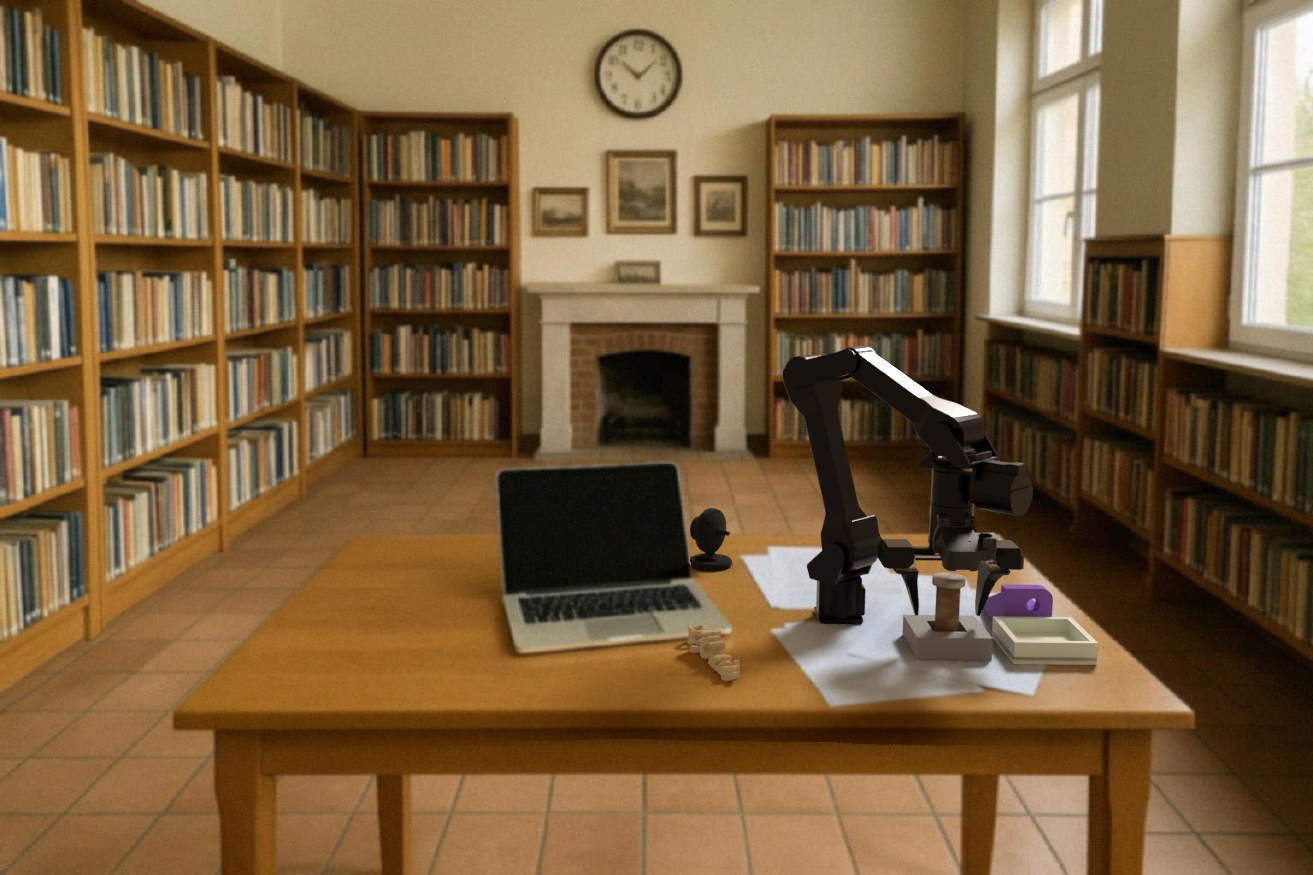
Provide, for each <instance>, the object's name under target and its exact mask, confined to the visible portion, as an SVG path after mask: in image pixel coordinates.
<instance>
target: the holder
mask: <svg viewBox="0 0 1313 875" xmlns="http://www.w3.org/2000/svg"><path fill="white" fill-rule="evenodd" d="M934 630H935V614H918V616H917V615H915V614H903V615H902V637H903V639H904V640H905V643H906V644H907V646H908V647H909V649H910V651H911V652H912V654H913V657H915V659H916V660H939V661H940V660H943V661H944V660H945V661H946V660H947V661H948V660H949V661H950V660H951V661H954V660H956V661H957V660H958V661H959V660H960V661H961V660H962V661H966V660H967V661H992V657H993V641H994V639H993V638H992V635H991V634H990V633H989V632H988V631H987V629H986V628H985V626H983V624H982V623H981V622H980V621H979V619H978V618H977V617H976V615H975V614H974V615H973V614H969V615H968V614H965V615H964V614H963V615H962V614H959V630H958V632H935V631H934Z"/></svg>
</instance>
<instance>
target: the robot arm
mask: <svg viewBox="0 0 1313 875" xmlns="http://www.w3.org/2000/svg"><path fill="white" fill-rule="evenodd" d="M851 378H852V380H853V379H854V380H855V381H856V382H858V383H859V384H860V385H861V386H863V387H864V388H866V389H867V390H868V391H869V392H871V393H872V394H874V395H875V396H876V397H878V398H879V399H880V400H882V402H884V403H885V404H887V405H888V406H890V407H891V408H892V409H894V410H895V411H896V412H898V413H899V414H901V415H902V417H904V418H905V419H907V420H908V421H909V422H910V423H911V424H912V426H913V428H914V430H915V433H916V435H917V437H918V438H919V439H920V440H921V441H922V442H923V443H924V444H925V445H926V446H927V447H928V448H929V449H930V451H929V452H928V454H927V455H926V456H925V457H923V458H922V459H921V460H919V461H918V462H917V467H918V468H922V469H928V470H931V485H930V486H931V489H930V505H929V509H928V510H929V511H928V512H929V513H928V514H929V528H928V529H929V530H928V531H929V534H928V535H927V537H928V538H927V543H928V546H922V545H921V546H918V545H917V546H914V545H912V544H911V542H910V541H909V540H908V539H907V538H882V536H881V534H880V531H879V522H878V517H877V516H876V514H874V515H869V516H868V515H867V514H866V513H865V512H864V511H863V509H862V508H861V507H860V505H859V502H858V501H859V500H858V496H857V492H856V487H855V483H854V479H853V478H854V477H853V473H852V470H851V465H850V460H849V458H848V452H847V448H846V443H845V439H844V434H843V431H842V425H841V421H840V416H839V411H838V410H839V404H840V400H841V398H842V397H841V396H842V394H843V384H842V382H843V381H845V380H848V379H851ZM782 380H783V384H784V386H785V390H786V392H787V395H788V398H789V401H790V402H791V403H792V405H793V406H794V407H795V408H796V409H797V411H798V412H799V413H800V415H802V418H803V419H804V423H805V426H806V432H807V436H808V440H809V445H810V450H811V454H812V458H813V463H814V468H815V471H816V476H817V482H818V485H819V489H820V494H821V499H822V503H823V507H824V508H823V509H824V519H823V521H822V527H821V530H820V542H821V550H820V552H819V553H817V554H816V555H815V556H814V557H813V558H812V559H811V560H810V561H809V562H808V563H807V564H806V569H807V573H808V574H807V575H808V577H809V580H810V579H811V580H813V581H816V600H815V601H816V602H815V606H814V607H813V611H814V613H815V615H816V619H817V622H818V623H823V624H824V623H825V624H827V623H834V624H835V623H840V624H841V623H843V624H844V623H845V624H846V623H847V624H849V623H850V624H854V623H855V624H858V623H859V624H861V623H864V618H863V616H864V615H866V591H867V590H866V588H865V586H864V584H863V579H862V576H865V575H869V574H870V572H871V570H872V566H873V564H874V563H875V562H877V560H879V562H880V564H881V565H882V567H883V568H885V569H893V571H894V572H895V574H897V575H901V578H902V580H903V583H904V585H905V589H906V591H907V594H908V598H909V601H910V604H911V609H912V611H913V615H917V616H918V615H919V611H920V610H919V609H920V602H919V601H920V599H919V582H918V581H919V580H918V578H919V574H920V573H919V570H918V568H917V567H916V565H915V564H916V561H931V562H933V561H935V562H936V561H941V565H942V567H943V569H944V570H946V571H949V572H956V571H969V572H977V578H976V579H977V580H976V587H975V588H976V589H975V597H974V598H975V599H974V600H975V601H974V604H975V605H974V609H975V616H977V617H981V615H982V613H983V611H984V610H983V608H984V606H985V604H986V601H987V599H988V597H990V595H991V592H992V591H993V589H994V586H995V585H996V583H997V581H999V580H1000V579H1001V578H1002V577H1004V576H1010V574H1011V571H1012V570H1013V571H1017V570H1019V571H1021V570H1024V565H1025V555H1024V554H1025V553H1024V551H1023V550H1022V549H1021V548H1020V547H1019V546H1018V545H1017V544H1016V543H1015V542H1014V541H1013V540H1011V539H998V538H997V535H996V533H995V532H978V531H977V528H976V516H975V514H974V513H975V512H974V511H975V507H976V508H977V509H979V510H984V511H988V512H994V513H998V514H999V513H1000V514H1004V515H1005V514H1006V515H1009V516H1015V517H1022V516H1023V515H1025V514H1026V513H1027V511H1028V509H1029V508H1030V505H1031V504H1032V499H1033V494H1034V486H1032V481H1031V477H1030V475H1029V474H1027V472H1026V470H1027V469H1026V468H1027V467H1026V466H1027V465H1026V463H1025V462H1017V461H1016V462H1007V461H1001V457H1000V456H999V453H998V452H997V450H996V449H995V447H994V445H993V443H992V441H991V440H990V438H989V436H988V434H987V433H986V429H985V425H984V423H985V422H984V419H983V418H982V417H981V415H980V414H979V413H977V412H976V411H974V410H971V409H970V408H967V407H966V406H963V405H961V404H960V403H956V402H953V401H951V400H947V399H944V398H940V397H938V396H936V395H934V394H932V392H931V393H930V392H929V391H928V390H926V389H925V388H924V387H923V386H921V385H920V384H918V383H917V382H915V381H914V380H912V379H911V378H910V377H908V376H907V375H906V374H904V373H903V372H902V371H900V370H899V369H898V368H896V367H894V366H893V365H892V364H891V363H889V362H888V361H886V360H885V359H884V358H882V357H881V356H879V355H878V354H877V353H876V351H875V350H874V349H873V348H871V347H869V346H867V345H861V346H860V345H858V346H849V347H845V348H843V349H841V350H838V351H836V352H832V353H825V352H824V353H816V354H815V353H814V354H808V355H807V354H806V355H798V356H797V355H796V356H795V355H794V356H793V357H792V358H790V359H789V360H788V361H787V362H786V364H785V366H784V368H783V369H782ZM968 452H972V453H970V454H967V453H968Z"/></svg>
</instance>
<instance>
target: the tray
mask: <svg viewBox="0 0 1313 875" xmlns="http://www.w3.org/2000/svg"><path fill="white" fill-rule="evenodd" d="M991 624H992V628H991V629H992V630H991V637H992V638H993V641H994V642H995V643H996V644H997V646H998V647H999V648H1000V649H1001V651H1003V653H1004V654H1005V655H1006V657H1007V658H1008V659H1009V660H1010V662H1011V663H1012V664H1013V665H1061V666H1064V665H1066V666H1067V665H1069V666H1070V665H1077V666H1078V665H1079V666H1080V665H1081V666H1082V665H1083V666H1087V665H1088V666H1089V665H1090V666H1092V665H1093V666H1097V665H1098V651H1099V649H1098V648H1099V642H1098V641H1097V640H1095V638H1094V637H1092V636H1091V634H1090V633H1088V632H1087V630H1085V629H1084V628H1083V627H1082V626H1081V625H1080V624H1079V623H1078V622H1077V621H1076V620H1075V619H1074V618H1073V617H1072V616H1067V617H1066V616H1052V617H993V620H992V623H991Z"/></svg>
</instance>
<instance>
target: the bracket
mask: <svg viewBox="0 0 1313 875" xmlns="http://www.w3.org/2000/svg"><path fill="white" fill-rule="evenodd" d="M1034 600H1035V601H1034ZM1053 606H1054V598H1053V595H1052V593H1051V592H1050V591H1049V590H1048V589H1047V588H1046V587H1045V586H1043V585H1041V584H1003V583H1002V584H1001V585H1000V592H998V593H996V594H992V595H991V596H990V595H989V597H988V599H987V601H986V604H985V606H984V608H983V611H984V612H985V613H986V615H987V616H988V617H989V619H991V621H993V617H1053V609H1054V608H1053Z"/></svg>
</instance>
